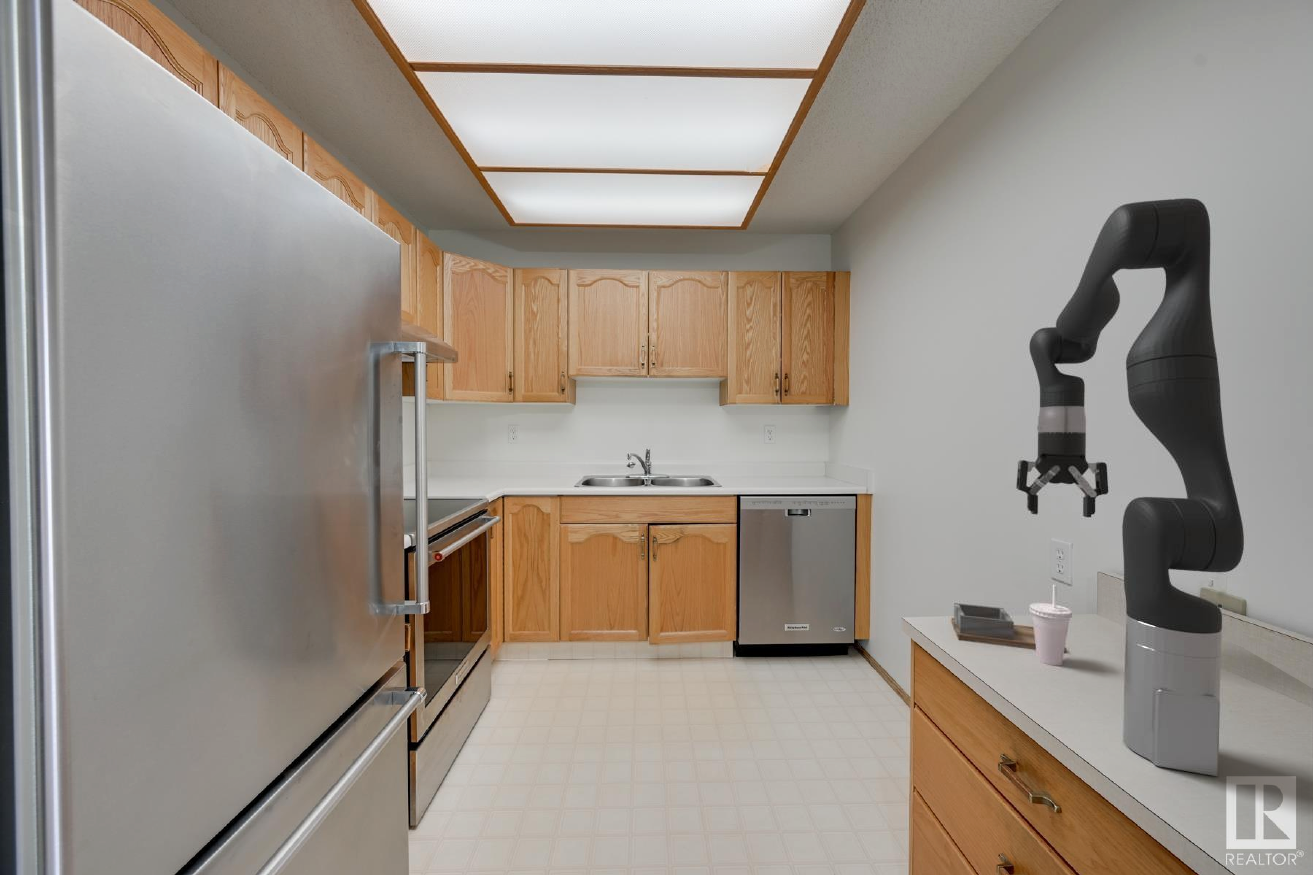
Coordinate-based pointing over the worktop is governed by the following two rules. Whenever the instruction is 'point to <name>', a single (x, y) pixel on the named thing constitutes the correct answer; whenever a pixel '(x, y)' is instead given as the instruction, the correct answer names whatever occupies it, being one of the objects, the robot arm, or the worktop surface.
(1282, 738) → the worktop surface
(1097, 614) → the worktop surface
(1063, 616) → the smoothie
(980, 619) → the caddy
